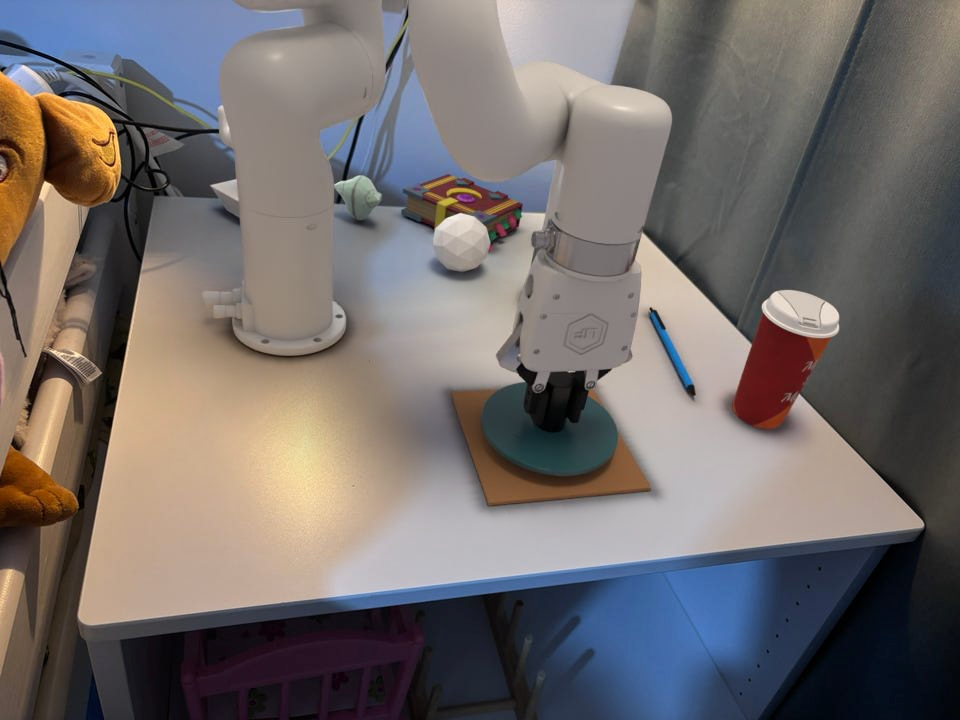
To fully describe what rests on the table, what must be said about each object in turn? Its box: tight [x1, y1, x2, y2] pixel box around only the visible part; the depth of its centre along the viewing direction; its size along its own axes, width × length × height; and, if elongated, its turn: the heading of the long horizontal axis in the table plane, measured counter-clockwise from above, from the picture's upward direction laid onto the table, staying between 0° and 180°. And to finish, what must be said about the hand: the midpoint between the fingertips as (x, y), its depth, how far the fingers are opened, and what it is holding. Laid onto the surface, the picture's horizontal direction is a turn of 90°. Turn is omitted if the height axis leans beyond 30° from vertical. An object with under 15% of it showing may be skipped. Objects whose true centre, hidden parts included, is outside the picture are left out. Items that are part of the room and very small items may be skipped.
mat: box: [450, 388, 652, 507], centre depth 72 cm, size 16×16×1 cm
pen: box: [649, 306, 697, 398], centre depth 88 cm, size 1×19×1 cm, turn 4°
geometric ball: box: [431, 213, 491, 273], centre depth 98 cm, size 8×8×8 cm
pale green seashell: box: [334, 175, 383, 221], centre depth 106 cm, size 8×4×7 cm, turn 65°
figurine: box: [209, 104, 240, 219], centre depth 101 cm, size 7×9×15 cm
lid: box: [481, 371, 619, 476], centre depth 69 cm, size 14×14×7 cm
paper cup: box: [732, 289, 840, 430], centre depth 76 cm, size 8×8×14 cm
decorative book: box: [400, 173, 524, 252], centre depth 110 cm, size 11×16×5 cm
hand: (551, 414), depth 70 cm, fingers closed on lid, 3 cm apart
